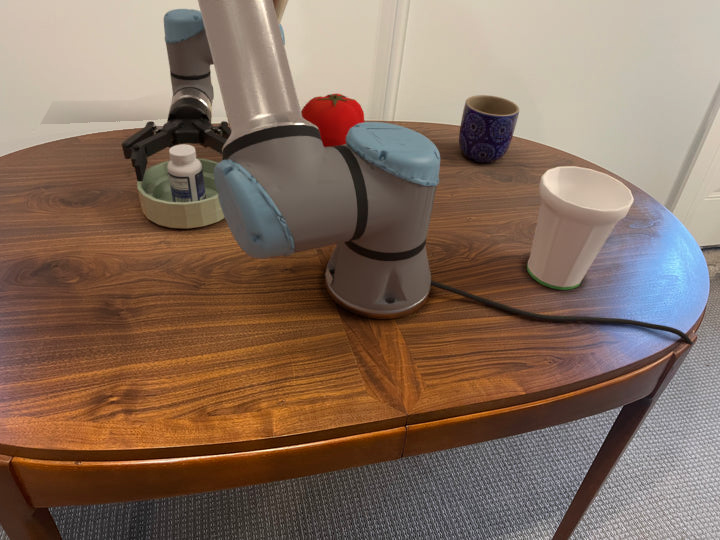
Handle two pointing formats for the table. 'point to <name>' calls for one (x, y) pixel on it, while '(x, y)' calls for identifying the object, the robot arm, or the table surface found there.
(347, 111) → the tomato
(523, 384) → the table surface
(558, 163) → the table surface
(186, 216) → the bowl
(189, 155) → the pill bottle
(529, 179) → the table surface
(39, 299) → the table surface
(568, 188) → the cup
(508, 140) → the planter
